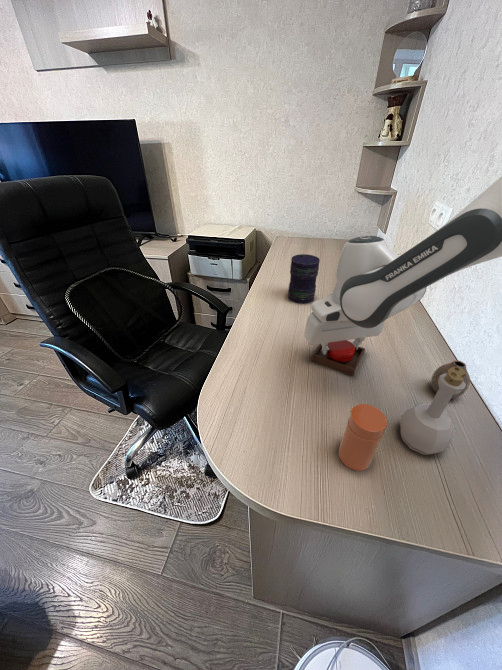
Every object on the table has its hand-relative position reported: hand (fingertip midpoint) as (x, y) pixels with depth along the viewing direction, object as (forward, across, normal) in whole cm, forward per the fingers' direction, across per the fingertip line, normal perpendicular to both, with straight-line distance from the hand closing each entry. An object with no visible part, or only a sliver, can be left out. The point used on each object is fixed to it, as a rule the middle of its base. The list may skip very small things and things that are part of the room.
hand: (339, 351), depth 74 cm
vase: (+2, -18, +17) cm, 25 cm away
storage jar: (+2, -3, -35) cm, 35 cm away
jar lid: (-2, 0, 0) cm, 2 cm away
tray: (+2, 0, 0) cm, 2 cm away
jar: (+2, +10, +27) cm, 29 cm away
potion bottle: (+2, -4, +27) cm, 27 cm away
